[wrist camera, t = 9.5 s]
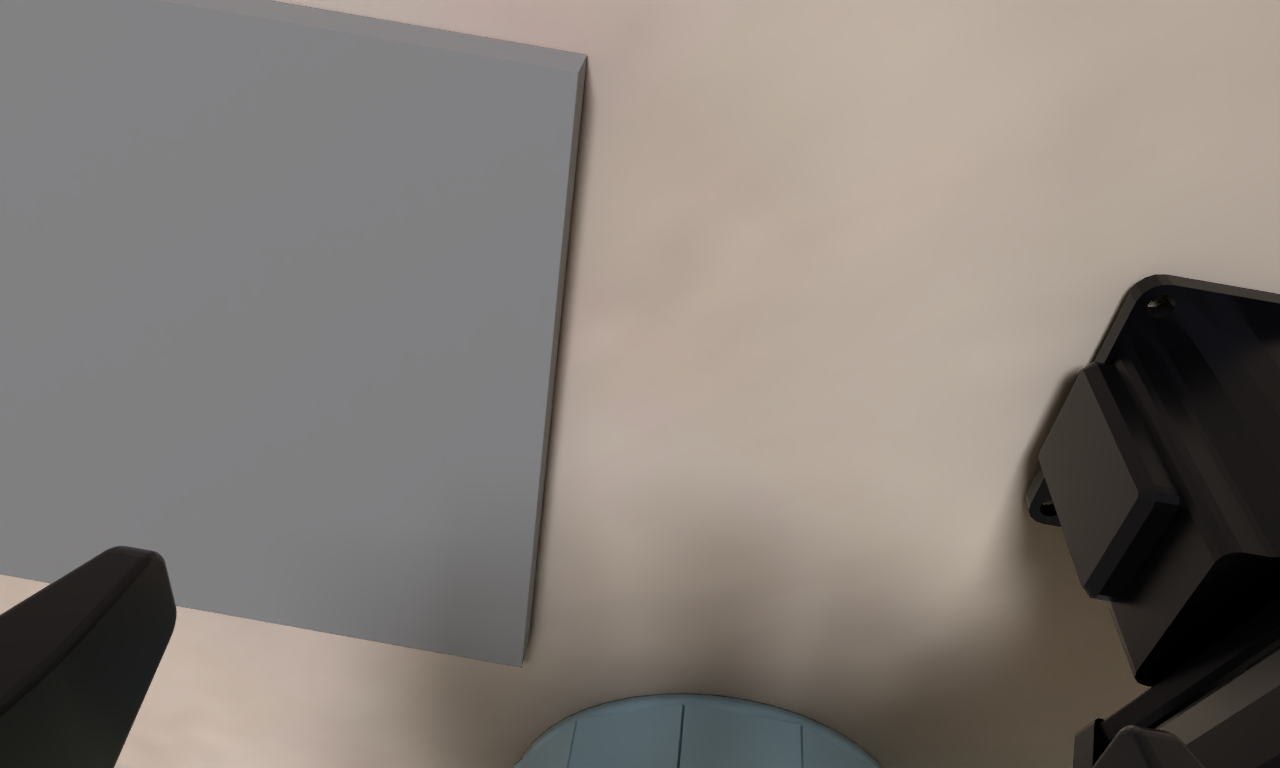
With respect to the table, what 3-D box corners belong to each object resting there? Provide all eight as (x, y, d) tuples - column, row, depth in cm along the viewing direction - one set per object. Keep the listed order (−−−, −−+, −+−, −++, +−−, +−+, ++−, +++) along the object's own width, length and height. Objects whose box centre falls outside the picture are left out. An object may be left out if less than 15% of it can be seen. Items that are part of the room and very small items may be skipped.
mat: (586, 54, 18) (578, 72, 17) (528, 639, 28) (521, 667, 27) (-311, -100, 18) (-362, -89, 17) (-44, 536, 28) (-69, 561, 27)
